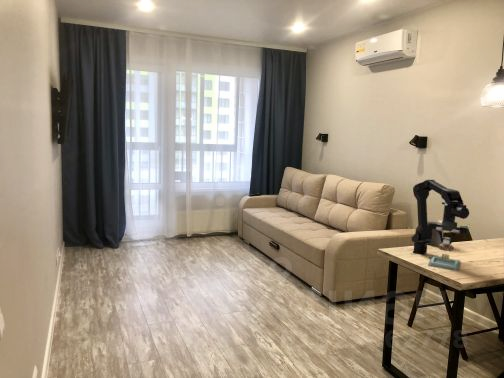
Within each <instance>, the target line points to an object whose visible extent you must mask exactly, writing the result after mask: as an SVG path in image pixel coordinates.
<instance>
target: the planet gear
mask: <svg viewBox="0 0 504 378" xmlns="http://www.w3.org/2000/svg"><path fill="white" fill-rule="evenodd" d="M450 241H451V237H447V236H443V243H442V244H438V246H437V249H438V250H440V251H444V252H452V251H453V252H454V248H455V247H454V246H453V244H451V245H450Z"/></svg>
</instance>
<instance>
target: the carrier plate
mask: <svg viewBox="0 0 504 378" xmlns="http://www.w3.org/2000/svg"><path fill="white" fill-rule="evenodd" d="M460 263H461V261H460V260H458V259H453V258H450V255H449V254H446V253H444V254H443V253H442V254H441V256H436V255H435V256H434V255H432V256H431V257H430V259H429V261H428V264H427V265H428V267H433V268H439V269H445V270H451V271H455V270H456V272H458V271H459V268H460Z"/></svg>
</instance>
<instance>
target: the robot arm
mask: <svg viewBox="0 0 504 378" xmlns="http://www.w3.org/2000/svg"><path fill="white" fill-rule="evenodd" d="M412 191H413V192H412V193H413V196H414V198H415V199H416V207H417V208H416V210H417V227H416V228H415V233H414V234H413V235H412V236H411V242H413V243H414V245H413V251H412V253H413V254H418V255H424V256H425V255H426V254H427V252H428V245H427V243H430V240H431V238H432V229H435V228H436V231H438V233H439V235H440V238H441V243H443V237H444V232H449V233H450V232H452V235H451V237H450V238H451V240H450V245H452V243H453V241H454V239H455V238H456V236H457V235H459V234H464V235H468V234H469V227H468V226H465V225H459V226H458V222H456V217H457V218H458V219H462V220H464V219H467V218H468V217H469V215H470V210H469V208H468V207H467V205H466V204H464V200H463V198H462V195H461V192H460V191H459V190H456V189H454V188H453V189H452V188H447V187H446V186H444V185H442V184H440V183H439V182H437V181H436V180H435V179H425V180H423V181H421V182H419V183H416V184H415V185H414V186H413V188H412ZM431 191H434V192H435V193H437V194H438V195H440V196H441V199H442V200H444V201H442V202H441V204H442V205H444V207H443V215H442V221H441V223H442V225H439V224H437V222H438V221H435V222H429V224H428V209H427V205H428V204H427V199H428V197H429V196H430V192H431Z"/></svg>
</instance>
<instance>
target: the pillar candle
mask: <svg viewBox="0 0 504 378" xmlns="http://www.w3.org/2000/svg"><path fill="white" fill-rule="evenodd" d="M427 221H428V220H427ZM429 222H437V224H439V225H442V221H441V222H440V221H436V220H435V221H434V220H429V221H428V224H429ZM438 244H442V243H441V238H440V235H439V233H438V231H436V228H435V229H432V238H431V240H430V243H427V246H430V247H438Z"/></svg>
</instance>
